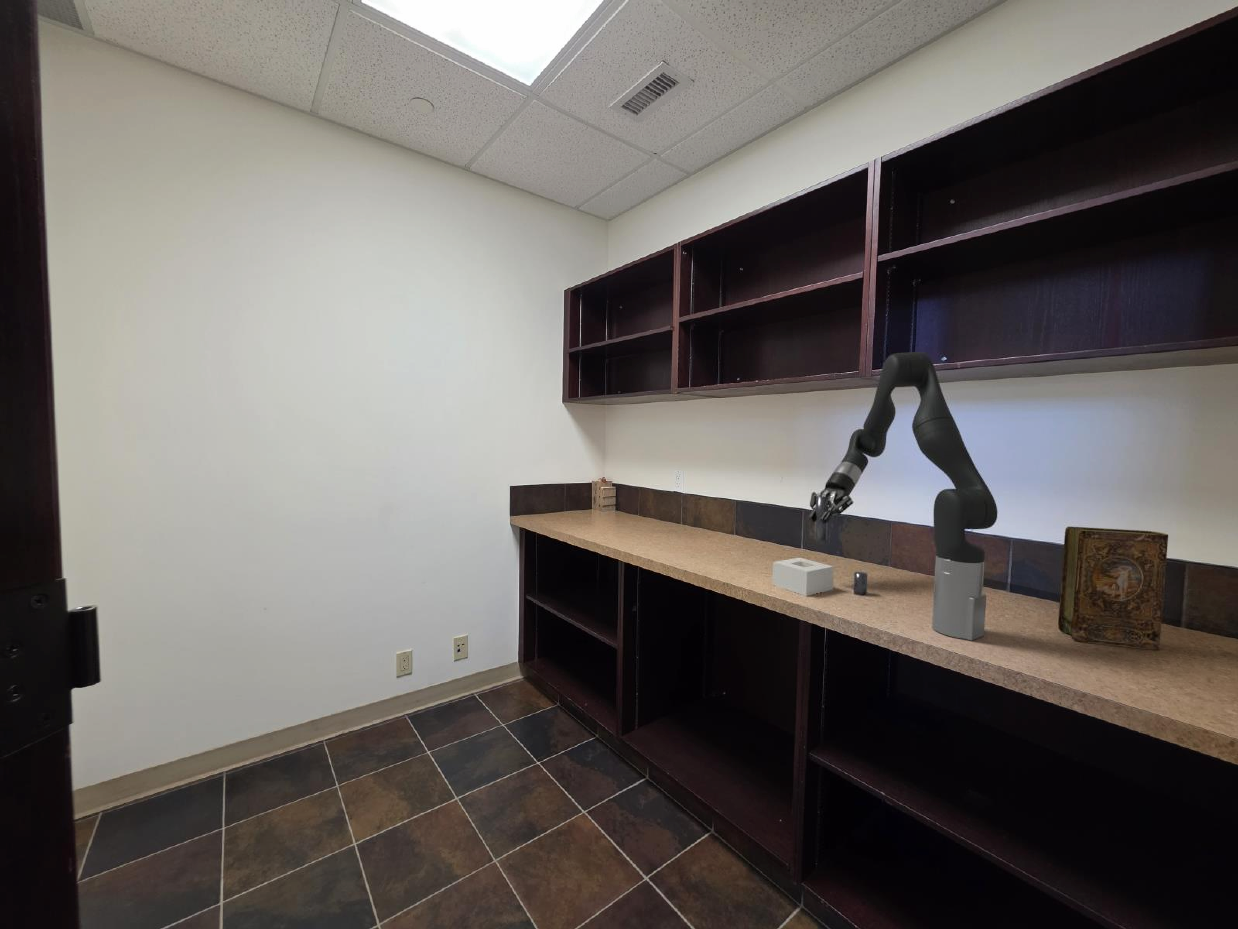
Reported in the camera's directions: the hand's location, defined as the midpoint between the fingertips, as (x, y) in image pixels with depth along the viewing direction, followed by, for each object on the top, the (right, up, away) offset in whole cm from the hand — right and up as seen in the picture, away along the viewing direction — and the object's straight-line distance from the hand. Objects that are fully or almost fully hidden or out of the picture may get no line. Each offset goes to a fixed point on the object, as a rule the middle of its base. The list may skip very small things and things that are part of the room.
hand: (817, 520), depth 149 cm
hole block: (-5, -20, -2) cm, 20 cm away
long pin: (+2, -6, +1) cm, 6 cm away
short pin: (+10, -20, -7) cm, 23 cm away
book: (+50, -23, -38) cm, 67 cm away
